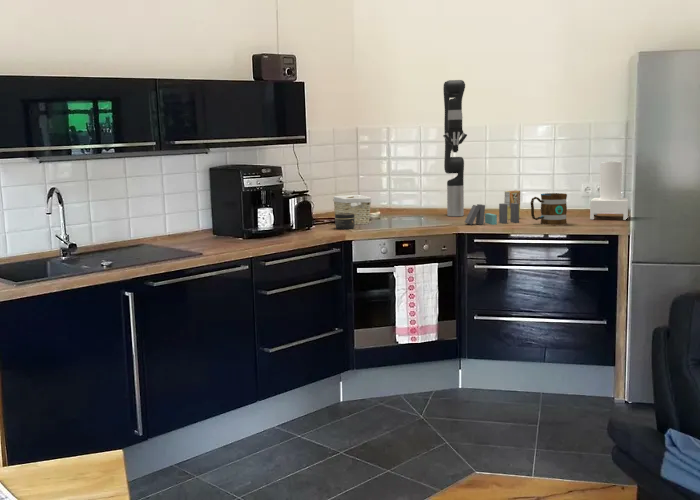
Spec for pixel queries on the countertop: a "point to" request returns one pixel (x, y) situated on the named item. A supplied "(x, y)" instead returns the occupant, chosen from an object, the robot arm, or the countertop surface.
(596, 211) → the paper towel holder
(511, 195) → the candy box
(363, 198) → the storage basket
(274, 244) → the countertop surface
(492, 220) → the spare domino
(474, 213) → the domino
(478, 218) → the domino
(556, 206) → the mug
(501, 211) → the domino
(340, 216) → the jar
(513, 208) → the domino
